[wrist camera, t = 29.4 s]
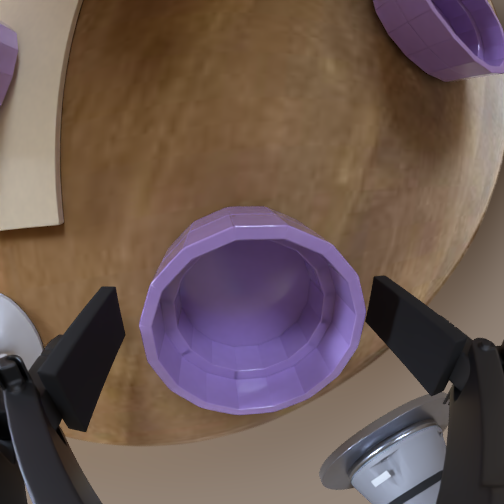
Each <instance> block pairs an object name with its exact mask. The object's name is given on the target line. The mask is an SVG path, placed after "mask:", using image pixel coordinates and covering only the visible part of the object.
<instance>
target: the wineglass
mask: <svg viewBox="0 0 504 504" xmlns="http://www.w3.org/2000/svg"><path fill="white" fill-rule="evenodd" d="M43 350H44V348H43V344H42V341H41V339H40V336H39V334H38V332H37V330H36V329H35V327H34V325H33V323H32V322H31V321H30V319H29V318H28V316H27V315H26V314H25V312H24V311H23V310H22V309H21V308H20V307H19V306H18V305H17V304H16V303H15V302H13V301H12V300H11V299H10V298H8V297H7V296H5V295H3V294H1V293H0V358H2V357H4V356H6V355H12V354H13V355H18V356H20V357H21V358H22V360H23V362H24V364H25V366H26V368H27V370H28V371H29V369H30V368H31V366H32V365H33V363H34V362H35V361H36V359H37V358H38V357H39V356H40V354H41V353H42V351H43Z"/></svg>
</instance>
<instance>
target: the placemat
mask: <svg viewBox="0 0 504 504" xmlns="http://www.w3.org/2000/svg"><path fill="white" fill-rule="evenodd" d="M82 2H83V0H0V21H2V22H4V23H6V24H7V25H9V26H10V27H11V28H12V29H13V30H14V31H15V32H16V33H17V42H18V54H17V59H16V63H15V68H14V73H13V77H12V80H11V82H10V85H9V88H8V90H7V93H6V95H5V98H4V100H3V103H2V105H1V107H0V231H3V230H12V229H21V228H31V227H42V226H53V225H60V224H62V223H64V218H63V208H62V196H61V178H60V131H61V113H62V101H63V92H64V84H65V76H66V70H67V64H68V58H69V53H70V48H71V43H72V39H73V34H74V30H75V26H76V22H77V19H78V15H79V11H80V8H81V5H82Z"/></svg>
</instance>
